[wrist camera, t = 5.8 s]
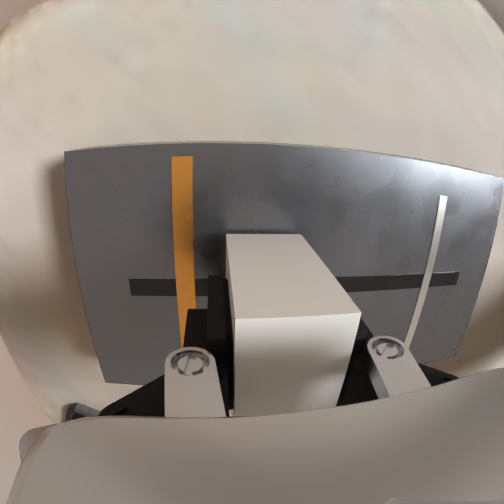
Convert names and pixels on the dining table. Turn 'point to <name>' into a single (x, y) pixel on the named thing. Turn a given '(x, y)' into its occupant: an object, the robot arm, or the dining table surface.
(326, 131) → the dining table surface
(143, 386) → the robot arm
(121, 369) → the fader console
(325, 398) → the fader tab
